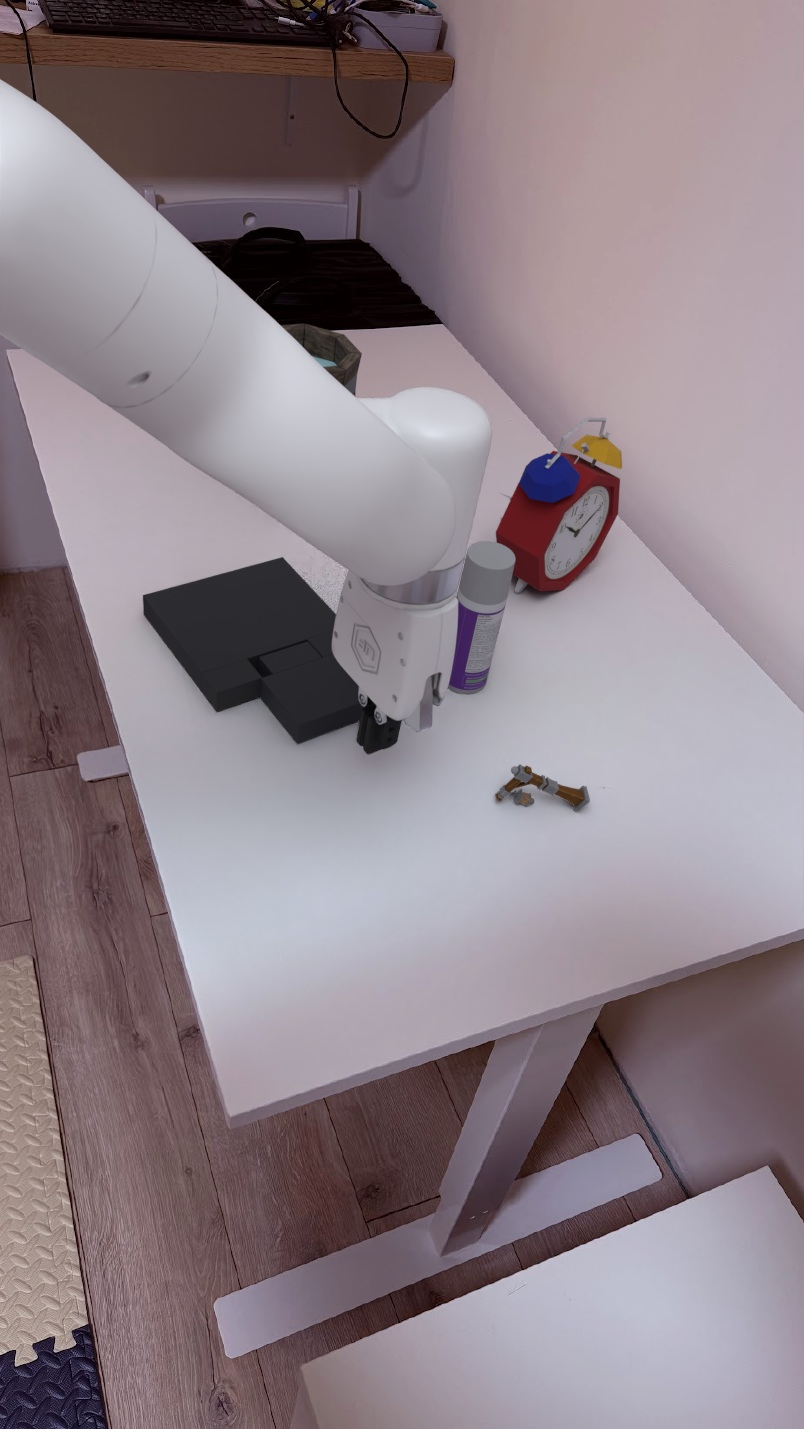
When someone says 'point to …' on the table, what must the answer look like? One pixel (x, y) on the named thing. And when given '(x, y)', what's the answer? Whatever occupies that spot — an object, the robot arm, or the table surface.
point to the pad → (308, 692)
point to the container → (480, 613)
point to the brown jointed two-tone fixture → (547, 785)
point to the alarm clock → (561, 512)
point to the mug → (329, 352)
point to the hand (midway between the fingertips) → (376, 743)
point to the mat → (238, 626)
